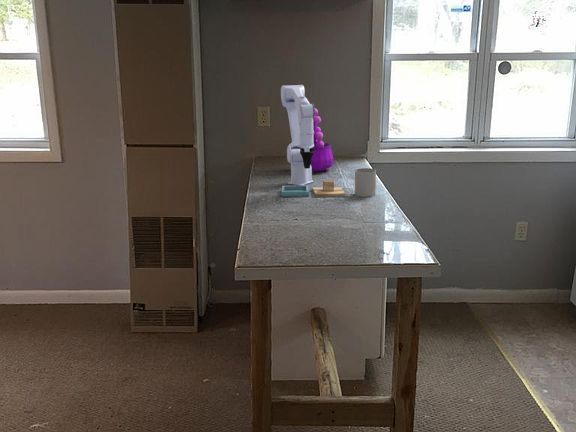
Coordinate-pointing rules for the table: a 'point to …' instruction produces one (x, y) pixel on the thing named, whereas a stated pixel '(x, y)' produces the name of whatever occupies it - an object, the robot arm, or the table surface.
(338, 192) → the oak cover
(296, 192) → the teal dish
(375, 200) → the table surface
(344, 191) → the rubber mat
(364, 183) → the cup
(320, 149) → the decorative plant
